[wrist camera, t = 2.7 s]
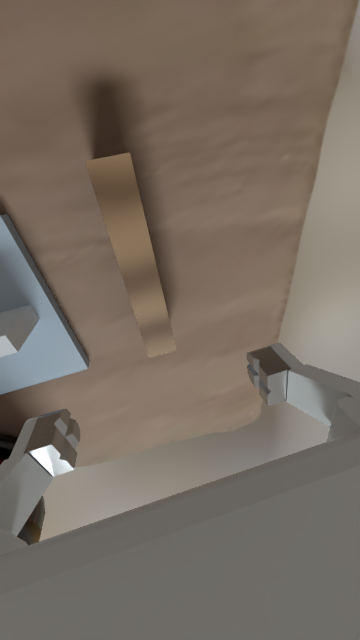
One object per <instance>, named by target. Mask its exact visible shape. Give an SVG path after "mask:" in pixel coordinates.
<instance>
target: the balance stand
mask: <svg viewBox="0 0 360 640" xmlns="http://www.w3.org/2000/svg"><path fill="white" fill-rule="evenodd" d="M88 367H89V360H88V358H87V356H86V354H85V353H84V351H83V349H82V347H81V345H80V344H79V342H78V340H77V338H76V336H75V335H74V333H73V331H72V329H71V328H70V326H69V324H68V322H67V320H66V319H65V317H64V315H63V313H62V311H61V310H60V308H59V306H58V304H57V302H56V301H55V299H54V297H53V295H52V293H51V292H50V290H49V288H48V286H47V284H46V283H45V281H44V279H43V277H42V275H41V274H40V272H39V270H38V268H37V267H36V265H35V263H34V261H33V259H32V258H31V256H30V254H29V252H28V250H27V249H26V247H25V245H24V243H23V241H22V240H21V238H20V236H19V234H18V232H17V231H16V229H15V227H14V225H13V223H12V222H11V220H10V218H9V216H8V214H4V215H0V395H1V394H4V393H8V392H11V391H14V390H18V389H21V388H24V387H28V386H31V385H35V384H38V383H41V382H45V381H48V380H51V379H55V378H58V377H61V376H65V375H68V374H72V373H75V372H78V371H82V370H85V369H88Z"/></svg>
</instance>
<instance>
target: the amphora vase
mask: <svg viewBox="0 0 360 640" xmlns="http://www.w3.org/2000/svg"><path fill="white" fill-rule="evenodd" d="M16 441H17V439H14V438H11V437H6V436H0V465H1V463H2V462H3V461H4V460H7V459H9V457H10V455H11V453H12V450H13V448H14V446H15V444H16ZM44 516H45V505H44V498H43V495H42V497H41V498H40V500H39V502H38V503H37V505H36V507H35V508H34V510H33V511H32V513H31V515H30V516H29V518H28V519H27V521H26V523H25V524H24V526H23V527H22V529H21V531H20V532H19V534H18V535H17V537H18V538H20V539H21V540H23V541H25V542H26V543H27V545H28V546H29V545H31V544H34V543H37V542H39V539H40V535H41V530H42V525H43V521H44Z"/></svg>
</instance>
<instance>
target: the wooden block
mask: <svg viewBox="0 0 360 640" xmlns="http://www.w3.org/2000/svg"><path fill="white" fill-rule="evenodd" d="M85 164H86V167H87V170H88V173H89V176H90V179H91V182H92V185H93V188H94V191H95V194H96V197H97V200H98V203H99V207H100V210H101V213H102V216H103V219H104V222H105V225H106V228H107V231H108V234H109V237H110V240H111V243H112V246H113V249H114V252H115V256H116V259H117V262H118V265H119V268H120V271H121V274H122V277H123V280H124V283H125V286H126V289H127V292H128V295H129V298H130V301H131V304H132V308H133V311H134V314H135V317H136V320H137V323H138V326H139V329H140V332H141V335H142V338H143V341H144V344H145V347H146V350H147V353H148V357H149V358H151V357H154V356H158V355H162V354H165V353H169V352H172V351H176V346H175V341H174V337H173V333H172V329H171V324H170V320H169V316H168V312H167V308H166V303H165V299H164V295H163V291H162V286H161V282H160V278H159V274H158V269H157V265H156V261H155V257H154V253H153V248H152V244H151V240H150V236H149V231H148V227H147V223H146V219H145V215H144V210H143V206H142V202H141V198H140V193H139V189H138V185H137V181H136V176H135V172H134V168H133V164H132V160H131V155H130V152H129V153H124V154H119V155H114V156H108V157H103V158H98V159H93V160H88V161H85Z"/></svg>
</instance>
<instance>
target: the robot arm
mask: <svg viewBox="0 0 360 640" xmlns="http://www.w3.org/2000/svg"><path fill="white" fill-rule="evenodd" d="M247 360H248V362H249V365H248V366H247V369H248V374H249V378H250V380H251V382H252V383H253V385H254V387H257V388H259V392H260V396H261V397H262V399H263V400H264V401H265V403H266V404H267V406H269V405H273V404H277V403H280V402H283V401H287V402H288V403H290V404H291V405H293V406H295V407H296V408H298V409H300V410H302V411H303V412H305V413H307V414H309V415H310V416H312V417H313V418H315V419H317V420H319V421H320V422H322V423H324V424H325V425H327V426H329V427H330V431H329V435H328V439H327V442H325V443H322V444H320V445H317V446H314V447H311V448H308V449H305V450H302V451H300V452H297V453H294V454H291V455H288V456H285V457H282V458H279V459H277V460H273V461H271V462H268V463H265V464H262V465H259V466H256V467H254V468H251V469H247V470H245V471H242V472H239V473H236V474H233V475H230V476H227V477H225V478H221V479H219V480H216V481H213V482H210V483H207V484H204V485H201V486H199V487H196V488H193V489H190V490H187V491H184V492H182V493H178V494H175V495H172V496H170V497H167V498H164V499H161V500H158V501H155V502H152V503H149V504H147V505H144V506H141V507H138V508H135V509H132V510H129V511H126V512H124V513H121V514H118V515H115V516H112V517H109V518H106V519H103V520H101V521H98V522H95V523H92V524H89V525H86V526H83V527H80V528H78V529H75V530H72V531H69V532H66V533H63V534H60V535H57V536H55V537H52V538H49V539H46V540H43V541H40V542H37V543H34V544H31V545H29V546H28V545H27V543H26V542H25V541H23V540H21V539H20V538H18V537H17V535H18V534H19V532H20V531H21V529H22V527H23V526H24V524H25V523H26V521H27V519H28V518H29V516H30V515H31V513H32V511H33V510H34V508H35V507H36V505H37V503H38V502H39V500H40V498H41V497H42V495H43V494H44V492H45V490H46V488H47V487H48V486H49V484H50V482H51V481H52V479H53V477H54V476H57V475H60V474H63V473H66V472H68V471H71V470H73V469H74V467H75V462H76V457H77V452H76V450H75V447H76V446H77V445H78V443H79V441H80V428H79V425H78V423H77V422H76V420H74V419H71V418H70V415H71V413H70V412H69V411H68V410H67V409H62V410H58V411H55V412H51V413H48V414H44V415H41V416H38V417H34V418H31V419H28V420H27V421H26V422H25V423H24V426H23V428H22V430H21V432H20V435H19V437H18V439H17V441H16V444H15V446H14V448H13V450H12V453H11V455H10V457H9V459H7V460H4V461H3V462H2V463H1V465H0V640H360V382H357V381H354V380H351V379H349V378H345V377H343V376H340V375H337V374H334V373H331V372H328V371H325V370H322V369H319V368H316V367H313V366H310V365H303V364H302V363H301V362H300V361H299V360H298V359H297V358H296V357H295V356H294V355H292V354H291V353H290V352H289V351H288V350H287V349H286V348H285V347H284V346H283V345H282V344H281V343H276V344H273V345H270V346H267V347H264V348H261V349H257V350H254V351H251V352H248V353H247Z"/></svg>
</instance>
